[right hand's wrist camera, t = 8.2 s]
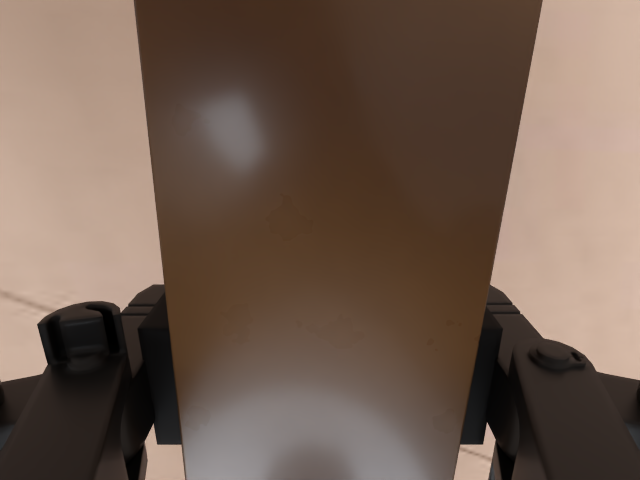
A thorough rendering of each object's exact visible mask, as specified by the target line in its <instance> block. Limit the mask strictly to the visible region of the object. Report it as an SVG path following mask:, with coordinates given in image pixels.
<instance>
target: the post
mask: <svg viewBox="0 0 640 480" xmlns="http://www.w3.org/2000/svg"><path fill="white" fill-rule="evenodd" d="M542 1H543V0H134V6H135V16H136V25H137V34H138V44H139V53H140V62H141V72H142V81H143V90H144V99H145V109H146V118H147V127H148V137H149V146H150V155H151V165H152V174H153V183H154V192H155V202H156V211H157V220H158V230H159V239H160V248H161V258H162V267H163V276H164V286H165V295H166V304H167V313H168V323H169V332H170V341H171V351H172V360H173V369H174V379H175V388H176V397H177V406H178V416H179V425H180V434H181V444H182V453H183V462H184V472H185V480H454V474H455V469H456V463H457V458H458V453H459V447H460V442H461V437H462V431H463V426H464V420H465V415H466V410H467V404H468V399H469V394H470V388H471V383H472V377H473V372H474V367H475V361H476V356H477V351H478V345H479V340H480V334H481V329H482V324H483V318H484V313H485V308H486V302H487V297H488V291H489V286H490V281H491V275H492V270H493V265H494V259H495V254H496V248H497V243H498V238H499V232H500V227H501V222H502V216H503V211H504V205H505V200H506V195H507V189H508V184H509V179H510V173H511V168H512V162H513V157H514V152H515V146H516V141H517V136H518V130H519V125H520V119H521V114H522V109H523V103H524V98H525V93H526V87H527V82H528V76H529V71H530V66H531V60H532V55H533V50H534V44H535V39H536V33H537V28H538V23H539V17H540V12H541V7H542Z"/></svg>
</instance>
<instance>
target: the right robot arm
mask: <svg viewBox="0 0 640 480" xmlns="http://www.w3.org/2000/svg"><path fill="white" fill-rule="evenodd" d="M37 326H38V329H39V333H40V337H41V341H42V344H43V348H44V352H45V356H46V359H47V363H48V365H47V367H46V369H45V371H44V373H43V374H41V375H36V376H31V377H26V378H21V379H16V380H10V381H5V382H1V381H0V480H145V475H146V468H147V461H148V460H147V452H146V447H145V440H146V438H147V436H148V434H149V431H150V429H151V427H152V425H153V423H154V428H155V434H156V440H157V445H178V444H181V434H180V425H179V416H178V406H177V397H176V388H175V379H174V369H173V360H172V351H171V341H170V332H169V323H168V313H167V304H166V295H165V286H164V285H152V286H150V287H148V288H147V289H145V290H143V291H142V292H140V293H138V294H137V295H136V296H135V297H134V299H133V300H132V301H131V302H130V303H129V304H128V307H126V308H125V309H124V310H123V311H122V312H121V313H120V308H119V307H118V306H116V305H115V304H114V303H109V302H104V301H93V302H84V303H79V304H74V305H70V306H68V307H65V308H62V309H59V310H57V311H55V312H53V313H51V314H49V315H47V316H46V317H44V318H43V319H42V320H41V321H40V322H39V323H38V324H37ZM487 422H488V424H489V426H490V429H491V431H492V433H493V435H494V437H495V439H496V441H495V447H494V452H493V457H492V463H491V468H490V474H489V479H488V480H640V380H635V379H630V378H625V377H619V376H614V375H609V374H604V373H600V372H596V370H595V368H594V366H593V364H592V363H591V362H590V361H589V360H588V359H587V357H586V356H585V355H583V354H582V353H580V352H579V351H577V350H576V349H574V348H573V347H570V346H568V345H565V344H563V343H560V342H557V341H553V340H548V339H544V338H543V337H542V336H541V335H540V334H539V333H538V332H537V331H536V329H535V328H534V327H533V326H532V325H531V324H530V323H529V321H528V320H527V319H526V318H525V317H524V316H523V315H522V314H520V311H519V310H518V309H517V308H516V307H515V305H512V302H511V301H510V300H509V299H508V297H507V296H506V295H505V294H504V293H503V292H502V291H500V290H498V289H496V288H495V287H493V286H491V285H490V286H489V291H488V297H487V302H486V308H485V313H484V318H483V324H482V329H481V334H480V340H479V345H478V351H477V356H476V361H475V367H474V372H473V377H472V383H471V388H470V394H469V399H468V404H467V410H466V415H465V420H464V426H463V431H462V437H461V442H460V444H483V442H484V436H485V430H486V424H487Z"/></svg>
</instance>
